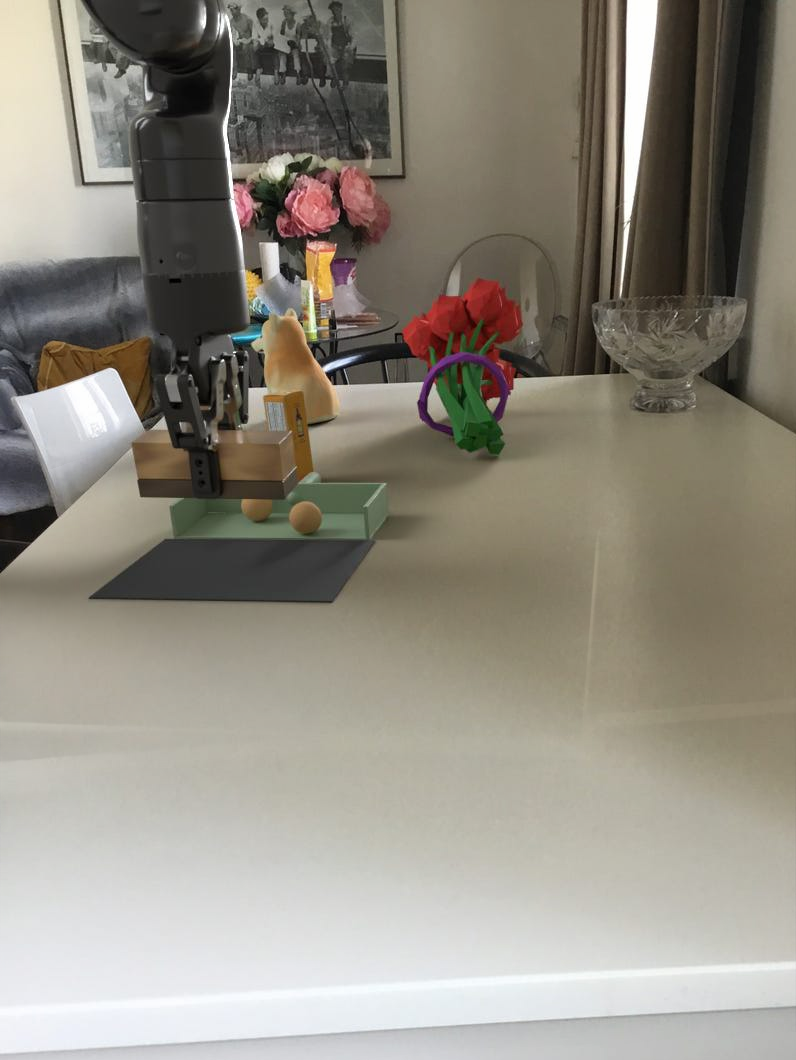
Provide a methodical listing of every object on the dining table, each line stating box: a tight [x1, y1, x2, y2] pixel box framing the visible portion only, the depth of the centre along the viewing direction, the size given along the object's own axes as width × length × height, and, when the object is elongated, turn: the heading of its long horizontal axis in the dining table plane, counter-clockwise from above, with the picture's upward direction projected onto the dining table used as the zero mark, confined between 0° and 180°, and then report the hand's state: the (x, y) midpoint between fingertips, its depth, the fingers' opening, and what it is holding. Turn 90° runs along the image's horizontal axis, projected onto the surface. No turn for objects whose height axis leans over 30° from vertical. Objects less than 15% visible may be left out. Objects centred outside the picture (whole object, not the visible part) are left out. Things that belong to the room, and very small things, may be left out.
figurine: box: [250, 307, 340, 425], centre depth 148 cm, size 12×13×15 cm
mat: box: [88, 538, 376, 604], centre depth 90 cm, size 20×16×1 cm
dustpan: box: [168, 471, 389, 540], centre depth 104 cm, size 16×19×3 cm
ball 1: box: [241, 499, 273, 521], centre depth 102 cm, size 3×3×3 cm
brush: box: [130, 429, 298, 500], centre depth 84 cm, size 12×4×4 cm, turn 83°
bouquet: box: [401, 277, 524, 456], centre depth 135 cm, size 20×16×30 cm
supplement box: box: [262, 390, 314, 483], centre depth 115 cm, size 3×3×10 cm
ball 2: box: [289, 502, 322, 534], centre depth 98 cm, size 3×3×3 cm
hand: (219, 489), depth 85 cm, fingers closed on brush, 4 cm apart
